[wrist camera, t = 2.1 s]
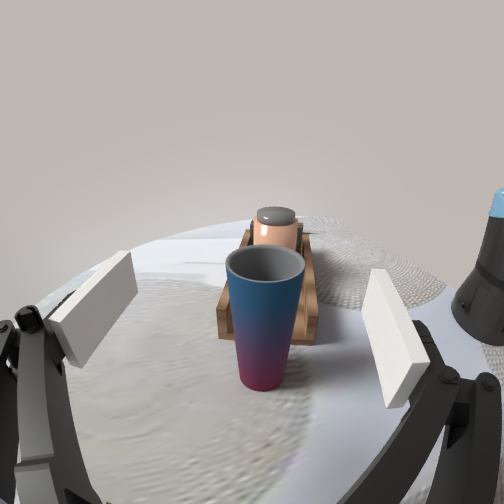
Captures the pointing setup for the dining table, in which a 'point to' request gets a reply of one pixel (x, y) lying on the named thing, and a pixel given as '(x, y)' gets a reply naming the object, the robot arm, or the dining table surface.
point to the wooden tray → (306, 306)
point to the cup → (263, 310)
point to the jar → (276, 227)
